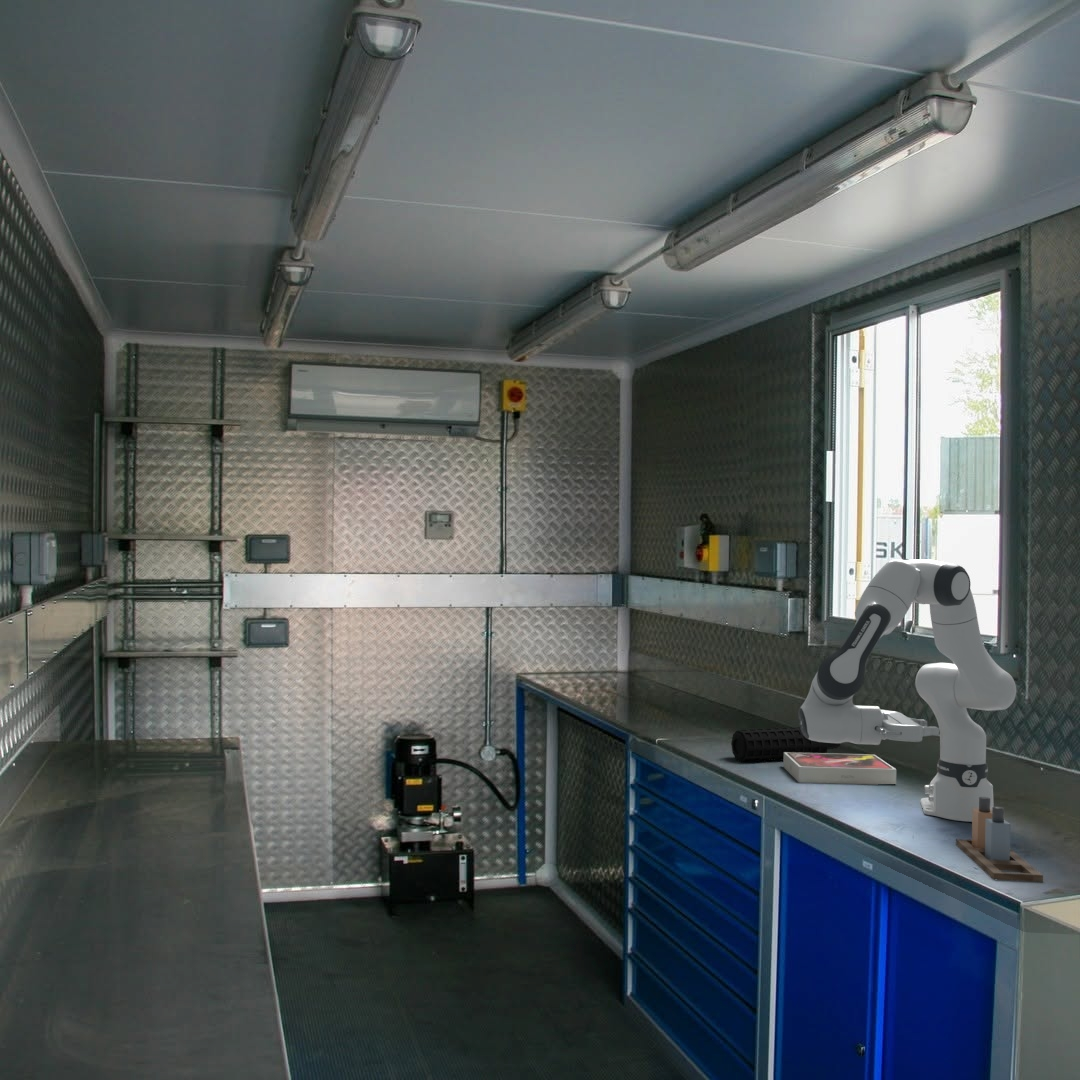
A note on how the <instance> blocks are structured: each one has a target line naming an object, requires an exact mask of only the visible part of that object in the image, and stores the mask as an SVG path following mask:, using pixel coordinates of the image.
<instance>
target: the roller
mask: <svg viewBox="0 0 1080 1080" xmlns="http://www.w3.org/2000/svg"><path fill="white" fill-rule="evenodd" d="M841 745H842V743H825V742H817V741H812V740H809V739H807V738H806V737H805V736H804V735H803V733H802V732H801V729H800V726H798V727H797V726H796V727H781V728H779V727H777V728H776V727H775V728H757V729H756V728H755V729H737V730H736V731H735V732H734V733H733V734H732V737H731V745H730V746H731V752H732V754H733V756H734V758H735V760H736V761H738V762H740V763H747V762H762V761H763V762H764V761H765V762H767V761H768V762H769V761H780V760H782V761H783V759H784V752H791V753H828V751H829V750H834V749H838V748H839V747H840V746H841Z"/></svg>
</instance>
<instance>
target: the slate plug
mask: <svg viewBox="0 0 1080 1080" xmlns="http://www.w3.org/2000/svg"><path fill="white" fill-rule="evenodd" d="M1010 849H1011V823H1010V822H1008V821H1007V820H1006V819H1005V807H1002V806H994V807H992V819H986V826H985V858H987V859H988V860H1009V861H1010Z"/></svg>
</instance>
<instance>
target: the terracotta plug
mask: <svg viewBox="0 0 1080 1080" xmlns="http://www.w3.org/2000/svg"><path fill="white" fill-rule="evenodd" d="M986 819H992V810H991V809H990V798H988V797H979V809H973V814H972V822H971V823H972V824H971V840H972V846H973V847H974V848H985V826H986Z"/></svg>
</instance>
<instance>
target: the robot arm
mask: <svg viewBox="0 0 1080 1080" xmlns="http://www.w3.org/2000/svg"><path fill="white" fill-rule="evenodd" d="M857 602H858V603H857V605H856V607H855V611H854V616H855V617H854V618H855V619H856V622H855V624H854V626H853V628H852V630H851V631H850V633H849V634H848V636H847V637H846V639H845V641H844V642H843V643H842V645H841V647H840V648H839V649H837V650H836V651H834V652H833V653H830V654H829V655H828V656H826V657H825V658H824V659H823V660H822V661H821V662H820V665H819V667H818V669H817V672H816V673H815V676H814V677H813V678H812V681H811V684H810V688H809V690H808V694H807V696H806V699H805V700H804V701H803V703H802V705H800V707H799V708H798V712H797V713H798V715H797V717H798V724H799V726H798V727H800V729H801V732H802V733H803V735H804V736H805V737H806V738H807V739H809V740H812V741H817V742H825V743H841V744H842V743H852V744H856V745H869V746H870V745H871V746H872V745H875V746H879V745H880V744H881V742H882V740H884V741H885V740H888V741H889V740H890V741H898V742H900V741H901V742H911V743H912V742H913V743H920V742H922V741H923V737H929V736H930V737H931V736H939V743H940V744H939V751H940V752H939V755H940V757H939V758H938V761H937V765H936V766H937V767H936V768H937V769H936V771H937V773H936V775H935V776H933V778H932V780H931V781H930V783H929V784H925V785H924V793H925V795H928V797H922V798H920V804H921V808H923V809H922V812H923V814H925V815H927V816H935V817H939V818H943V819H947V820H951V821H957V822H968V823H969V822H971V823H972V814H973V809H979V797H988V798H990V809H991V810H992V807H994V786H993V784H992V783H991V782H990V781H989V780H988V779H987V777H988V771H989V767H988V763H987V761H986V760H987V734H986V732H985V730H984V729H983V727H982V726H981V725H980V724H978V723H976V722H975V721H974V720H973V719H972V718H971V717H970V715H969V713H968V710H967V709H973V710H978V711H979V710H980V711H988V712H989V711H1005V710H1007V709H1008V708H1010V706H1011V705H1013V702H1014V701H1015V700H1016V696H1017V685H1016V682H1015V680H1014V678H1013V676H1012V675H1011V674H1010V673H1009V672H1007V671H1006V670H1004V668H1002V667H1001V666H1000V665H998V663H997V662H995V660H994V659H993V657H992V656H991V655H990V654H989V652H988V651H987V648H986V647H985V645H984V642H983V640H982V636H981V632H980V625H979V621H978V614H977V613H978V612H977V608H976V604H975V599H974V597H973V593H972V590H971V579H970V575H969V574H968V572H967V570H966V569H965V568H964V567H963V566H962V565H959V564H956V563H953V562H944V561H940V560H939V561H938V560H935V559H910V558H909V559H908V558H900V559H891V560H889V561H888V562H886V563H885V564H884V565H883V566H882V567H881V568H880V569H879V570H878V571H877V573H876V574H875V575H874V576H873V577H872V579H871V580H870V582H868V584H867V586H866V587H865V589H864V591H863V592H862V594H861V595H860V597H859V600H858V601H857ZM913 603H914V604H920V605H929V615H930V621H931V627H932V632H933V640H934V645H935V647H936V648H937V650H938V651H939V653H940V654H942V655H943V656H945V657H946V658H948V659H949V660H950V661H951V662H952V663H951V662H933V663H926V664H924V665H922V666H921V667H920V668H919V670H918V672H917V673H916V676H915V688H916V689H915V690H916V692H917V693H918V695H919V697H920V698H922V699H923V700H924V702H926V704H927V705H928V706H929V707H930V709H931V711H932V713H933V714H934V716H935V718H936V720H937V721H936V722H937V725H938V727H937V726H936V725H935V726H932V725H931V726H928V720H926V719H917V718H915V717H914V718H912V717H908V716H906V715H904V714H903V713H902V712H899V711H895V710H887V709H881V708H880V706H877V705H859V704H858V705H856V704H854V702H853V697H854V696H855V694H857V693H858V692H859V690H860V689H861V688H862V687H863V686H862V685H863V683H864V679H865V670H866V663H867V661H868V659H869V657H870V656H871V654H872V652H873V650H874V649H875V647H876V646H877V644H878V642H879V641H880V640H881V638H882V637H883V636H887V635H890V634H891V633H892V632H893V631H894V630H895V629H896V628H897V627H898V625H899V624H900V623H901V622H902V621H903V619H904V618H905V616H906V615H907V613H908V611H909V610H910V608H911V606H912V604H913Z"/></svg>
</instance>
